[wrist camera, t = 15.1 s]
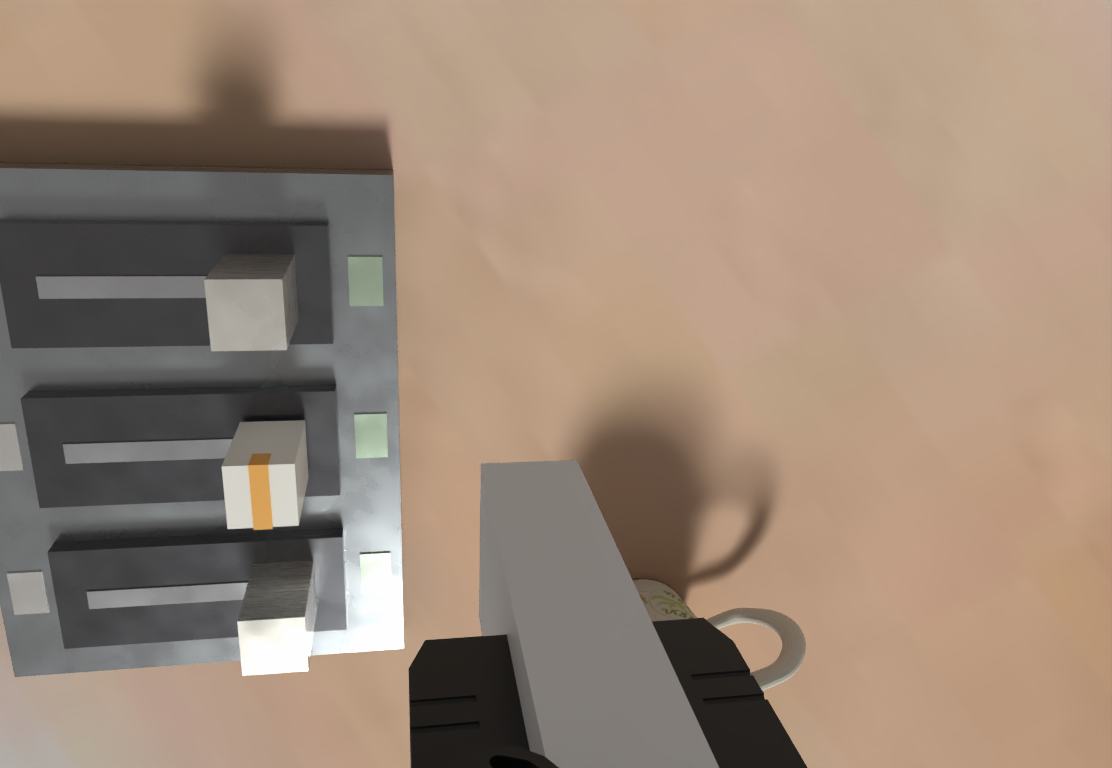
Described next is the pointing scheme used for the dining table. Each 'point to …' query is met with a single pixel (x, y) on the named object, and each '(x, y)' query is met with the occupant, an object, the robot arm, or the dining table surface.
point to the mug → (671, 607)
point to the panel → (194, 414)
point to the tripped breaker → (266, 475)
